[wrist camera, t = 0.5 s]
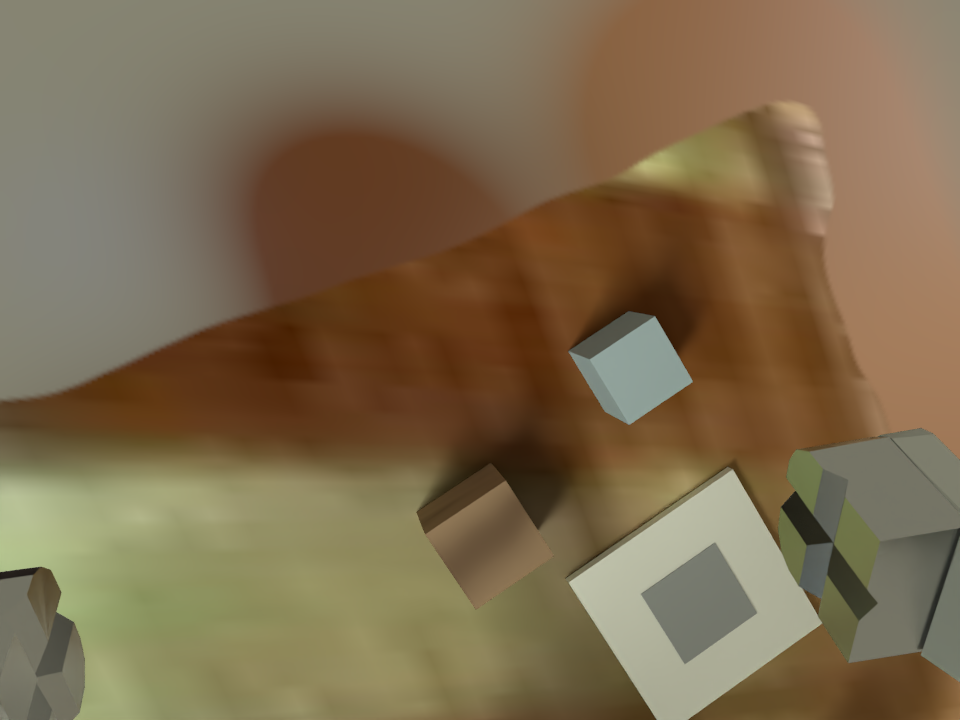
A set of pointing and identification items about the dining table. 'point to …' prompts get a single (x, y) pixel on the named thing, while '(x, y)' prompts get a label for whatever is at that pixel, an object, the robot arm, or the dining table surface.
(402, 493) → the dining table surface
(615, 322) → the grey cube
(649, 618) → the plate
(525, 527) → the walnut block
